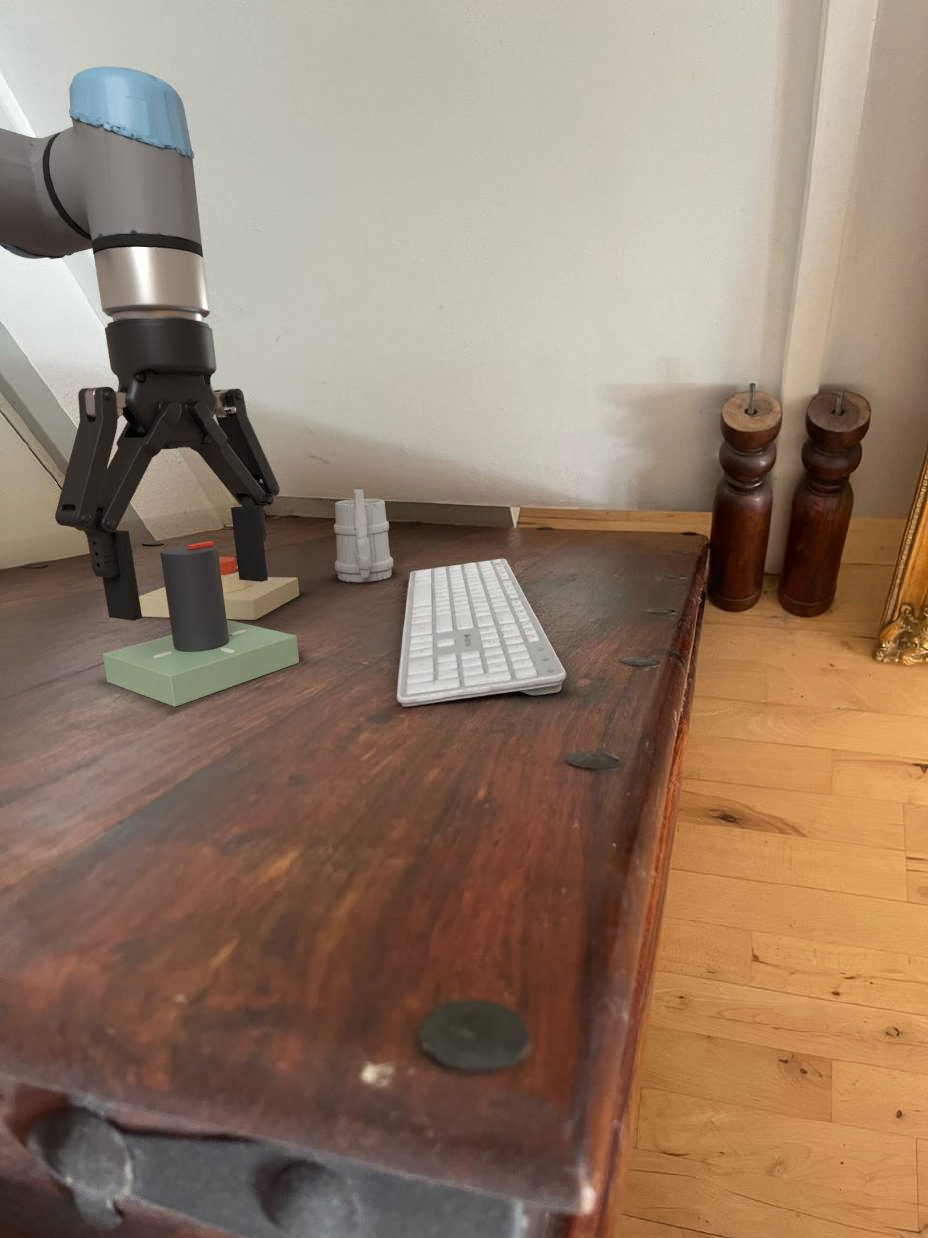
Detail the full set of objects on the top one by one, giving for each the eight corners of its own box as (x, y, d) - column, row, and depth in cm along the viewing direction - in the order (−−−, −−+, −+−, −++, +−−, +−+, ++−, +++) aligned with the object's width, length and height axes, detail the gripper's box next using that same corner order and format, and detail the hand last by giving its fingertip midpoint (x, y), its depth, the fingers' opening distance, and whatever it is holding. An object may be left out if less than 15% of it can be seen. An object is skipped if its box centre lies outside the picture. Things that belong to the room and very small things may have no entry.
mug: (392, 569, 102) (387, 480, 99) (397, 588, 91) (391, 489, 88) (336, 572, 102) (329, 483, 98) (334, 592, 90) (325, 492, 87)
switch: (193, 578, 83) (191, 563, 83) (212, 571, 87) (210, 556, 86) (225, 579, 82) (223, 563, 82) (243, 571, 86) (242, 556, 86)
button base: (139, 616, 82) (133, 581, 81) (194, 593, 92) (190, 561, 91) (255, 620, 79) (251, 583, 78) (299, 595, 89) (296, 562, 88)
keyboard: (410, 579, 96) (409, 561, 95) (506, 575, 96) (505, 557, 96) (395, 710, 53) (393, 679, 53) (568, 701, 54) (568, 670, 53)
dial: (193, 655, 59) (179, 552, 57) (163, 646, 62) (148, 547, 60) (239, 640, 63) (228, 543, 60) (209, 633, 65) (196, 539, 63)
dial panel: (106, 682, 61) (101, 651, 61) (230, 644, 71) (226, 617, 70) (174, 707, 55) (169, 673, 55) (299, 662, 65) (296, 633, 64)
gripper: (240, 336, 68) (265, 565, 74) (-45, 308, 47) (20, 632, 52) (305, 329, 64) (326, 570, 70) (29, 296, 43) (91, 644, 49)
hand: (195, 597), depth 61 cm, fingers open, 13 cm apart
